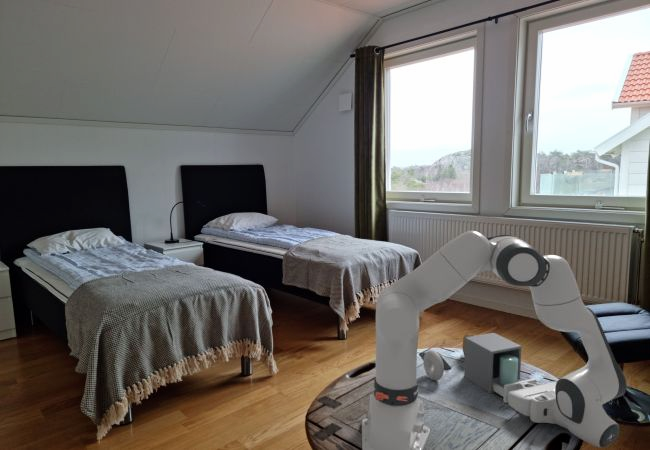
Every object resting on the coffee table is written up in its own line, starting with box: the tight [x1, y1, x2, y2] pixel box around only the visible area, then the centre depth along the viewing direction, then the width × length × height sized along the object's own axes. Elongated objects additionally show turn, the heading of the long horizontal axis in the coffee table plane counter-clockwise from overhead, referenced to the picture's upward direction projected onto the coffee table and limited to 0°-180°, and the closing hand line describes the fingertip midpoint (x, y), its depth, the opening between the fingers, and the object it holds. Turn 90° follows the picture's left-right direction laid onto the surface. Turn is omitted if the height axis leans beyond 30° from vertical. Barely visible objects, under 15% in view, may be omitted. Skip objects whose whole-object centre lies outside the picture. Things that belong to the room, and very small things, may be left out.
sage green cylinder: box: [499, 355, 518, 388], centre depth 145 cm, size 5×5×10 cm
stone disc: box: [462, 332, 478, 357], centre depth 170 cm, size 10×4×10 cm, turn 7°
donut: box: [422, 349, 445, 381], centre depth 155 cm, size 10×4×10 cm, turn 18°
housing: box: [463, 332, 522, 394], centre depth 153 cm, size 13×12×14 cm
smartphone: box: [419, 351, 452, 371], centre depth 170 cm, size 8×15×1 cm, turn 6°
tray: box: [492, 377, 537, 404], centre depth 146 cm, size 12×12×5 cm
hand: (521, 384), depth 141 cm, fingers closed, pressing on tray
